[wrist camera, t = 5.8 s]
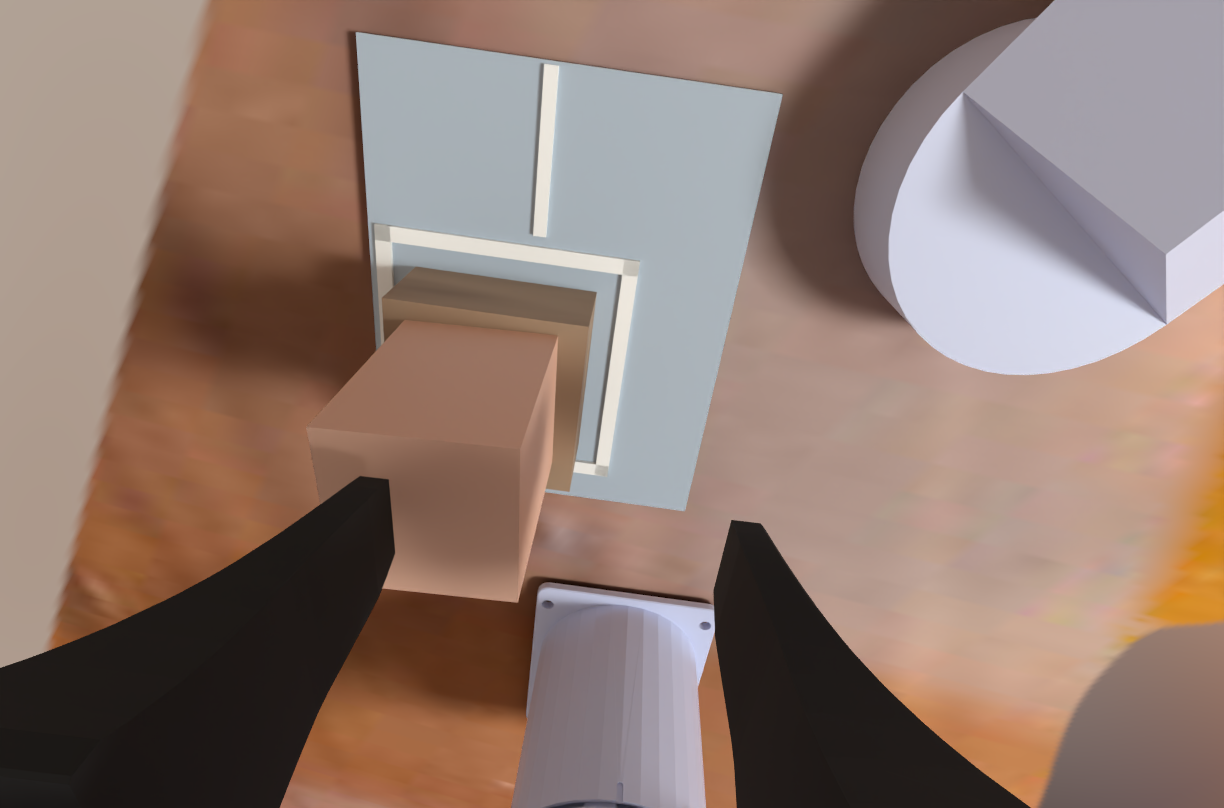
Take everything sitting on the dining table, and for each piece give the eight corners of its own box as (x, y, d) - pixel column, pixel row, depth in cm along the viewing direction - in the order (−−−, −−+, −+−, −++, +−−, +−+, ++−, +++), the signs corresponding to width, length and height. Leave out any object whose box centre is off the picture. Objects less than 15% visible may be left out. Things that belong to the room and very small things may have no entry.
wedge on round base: (1223, -240, 14) (792, 209, 20) (1618, -441, 8) (851, 277, 14) (1395, 49, 17) (971, 378, 22) (1794, 49, 11) (1085, 498, 16)
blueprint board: (684, 504, 25) (684, 513, 25) (387, 464, 25) (382, 472, 25) (780, 93, 18) (783, 94, 18) (361, 32, 18) (353, 32, 17)
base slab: (578, 443, 24) (569, 492, 21) (420, 421, 24) (391, 467, 21) (597, 292, 21) (588, 327, 18) (415, 266, 21) (381, 297, 18)
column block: (552, 462, 21) (517, 602, 15) (415, 448, 21) (334, 583, 15) (558, 335, 18) (520, 449, 13) (404, 319, 18) (306, 426, 13)
